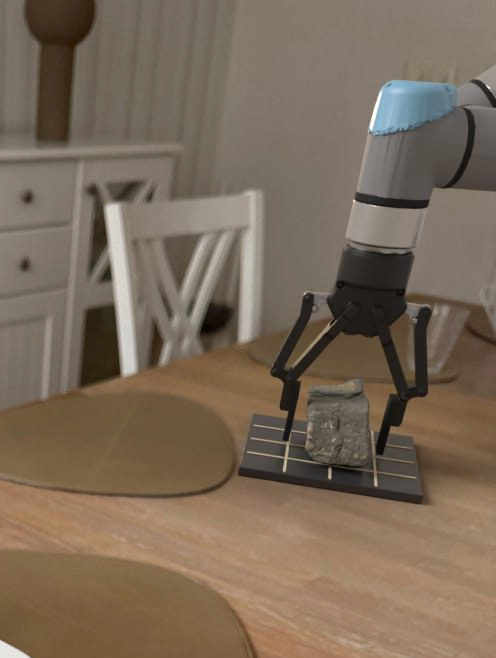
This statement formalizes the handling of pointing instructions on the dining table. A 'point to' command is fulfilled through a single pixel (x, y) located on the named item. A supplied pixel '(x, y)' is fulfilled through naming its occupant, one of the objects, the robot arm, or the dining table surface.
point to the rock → (339, 424)
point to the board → (300, 468)
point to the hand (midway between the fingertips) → (332, 444)
